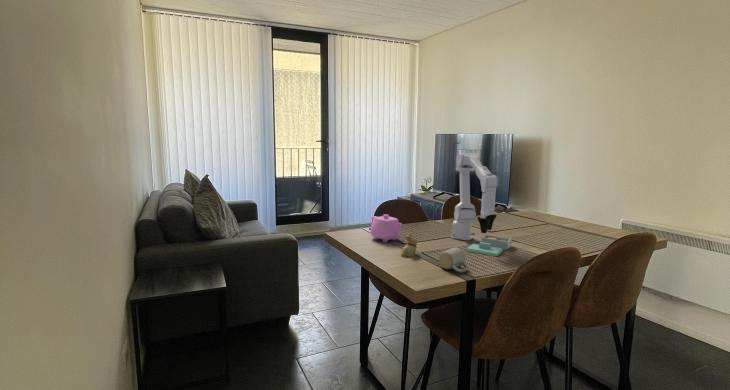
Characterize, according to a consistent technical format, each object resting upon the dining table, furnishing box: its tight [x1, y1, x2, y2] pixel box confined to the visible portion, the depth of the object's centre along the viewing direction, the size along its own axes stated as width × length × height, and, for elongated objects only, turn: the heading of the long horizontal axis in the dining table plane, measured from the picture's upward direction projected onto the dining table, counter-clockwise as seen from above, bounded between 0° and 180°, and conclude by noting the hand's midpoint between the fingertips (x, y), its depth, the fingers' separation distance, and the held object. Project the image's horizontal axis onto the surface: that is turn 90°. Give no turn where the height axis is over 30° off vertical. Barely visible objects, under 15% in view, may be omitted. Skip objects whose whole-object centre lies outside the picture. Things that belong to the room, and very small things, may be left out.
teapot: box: [370, 213, 403, 243], centre depth 196 cm, size 20×12×13 cm, turn 43°
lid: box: [466, 241, 504, 257], centre depth 180 cm, size 14×10×4 cm
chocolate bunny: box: [400, 232, 418, 257], centre depth 172 cm, size 6×8×10 cm
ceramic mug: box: [438, 247, 468, 273], centre depth 155 cm, size 11×8×8 cm
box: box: [481, 234, 513, 251], centre depth 189 cm, size 12×8×4 cm, turn 57°
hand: (486, 231), depth 179 cm, fingers open, 7 cm apart
